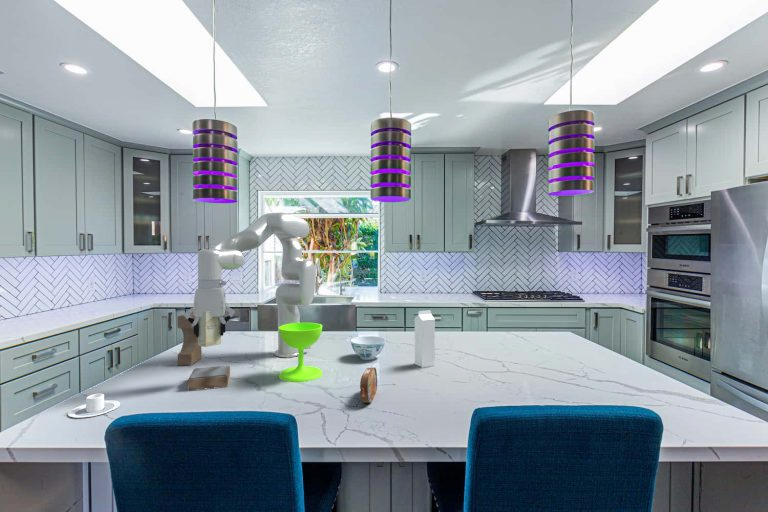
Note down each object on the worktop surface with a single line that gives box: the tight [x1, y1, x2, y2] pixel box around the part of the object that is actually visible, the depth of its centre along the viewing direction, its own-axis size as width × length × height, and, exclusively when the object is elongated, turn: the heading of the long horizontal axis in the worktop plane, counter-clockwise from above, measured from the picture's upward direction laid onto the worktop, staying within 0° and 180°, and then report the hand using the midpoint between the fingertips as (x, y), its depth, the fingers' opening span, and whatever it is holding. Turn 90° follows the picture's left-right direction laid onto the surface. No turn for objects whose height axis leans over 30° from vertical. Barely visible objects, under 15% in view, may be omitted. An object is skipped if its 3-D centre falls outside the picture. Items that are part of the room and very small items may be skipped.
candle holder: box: [67, 393, 121, 419], centre depth 110 cm, size 12×12×4 cm
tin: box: [359, 367, 378, 404], centre depth 119 cm, size 15×3×8 cm, turn 171°
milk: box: [414, 309, 436, 368], centre depth 153 cm, size 6×6×22 cm
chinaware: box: [350, 335, 386, 361], centre depth 163 cm, size 15×15×8 cm
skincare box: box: [198, 311, 222, 348], centre depth 132 cm, size 6×4×12 cm
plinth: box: [187, 365, 231, 391], centre depth 132 cm, size 12×12×4 cm
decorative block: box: [176, 312, 202, 367], centre depth 157 cm, size 11×6×20 cm, turn 5°
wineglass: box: [278, 322, 324, 383], centre depth 141 cm, size 16×16×18 cm
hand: (209, 335), depth 132 cm, fingers closed on skincare box, 7 cm apart
